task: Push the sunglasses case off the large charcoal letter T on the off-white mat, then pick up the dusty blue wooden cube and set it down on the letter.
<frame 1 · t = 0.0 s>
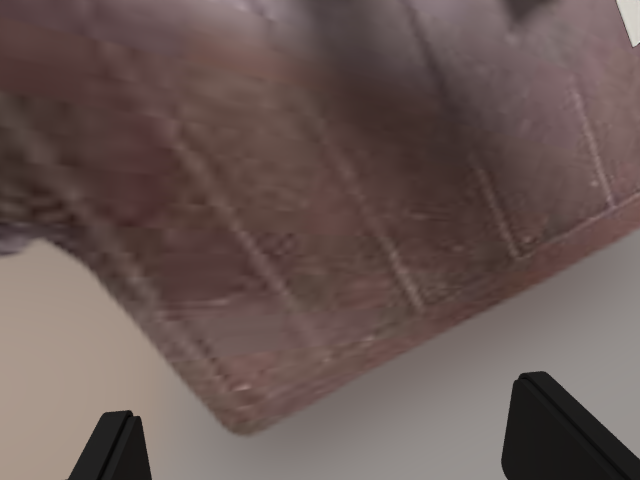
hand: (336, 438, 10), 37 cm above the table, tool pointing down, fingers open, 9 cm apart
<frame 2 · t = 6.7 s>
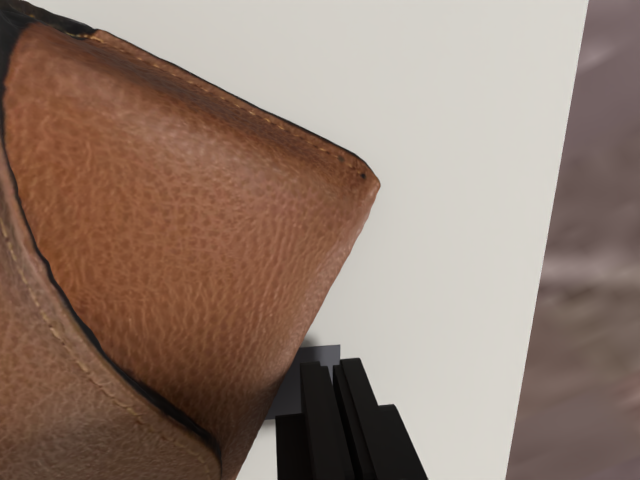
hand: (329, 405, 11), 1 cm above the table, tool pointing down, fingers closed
sunglasses case: (125, 393, 12), resting on letter mat, touching gripper
letter mat: (168, 391, 12), on the table
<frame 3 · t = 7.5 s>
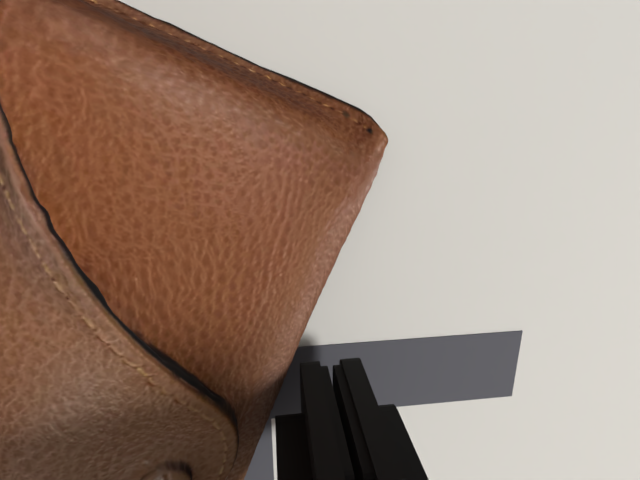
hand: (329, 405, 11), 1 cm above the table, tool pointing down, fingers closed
sunglasses case: (138, 370, 12), resting on letter mat, touching gripper
letter mat: (361, 374, 13), on the table
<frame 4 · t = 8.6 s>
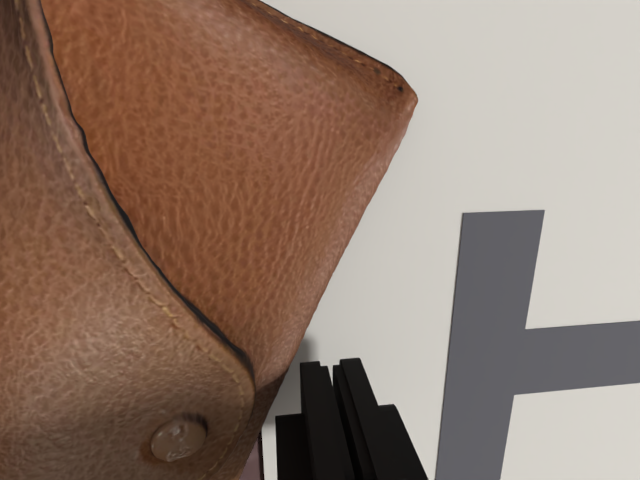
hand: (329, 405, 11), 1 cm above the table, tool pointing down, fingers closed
sunglasses case: (151, 330, 11), on the table, touching gripper, letter mat
letter mat: (596, 354, 14), on the table
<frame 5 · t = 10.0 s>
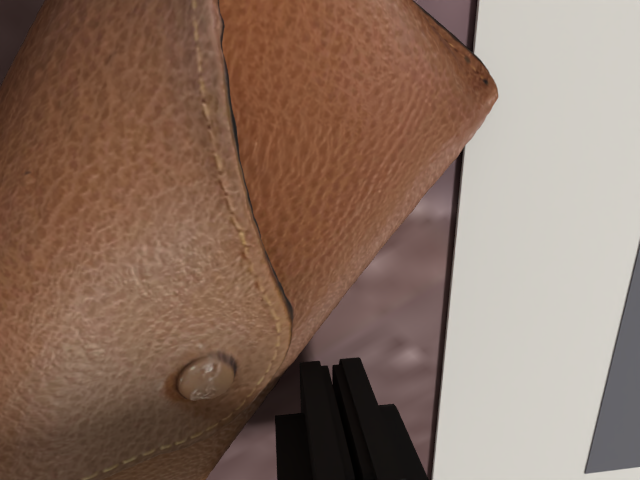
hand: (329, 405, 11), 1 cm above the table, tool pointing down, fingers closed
sunglasses case: (174, 272, 11), on the table, touching gripper, letter mat
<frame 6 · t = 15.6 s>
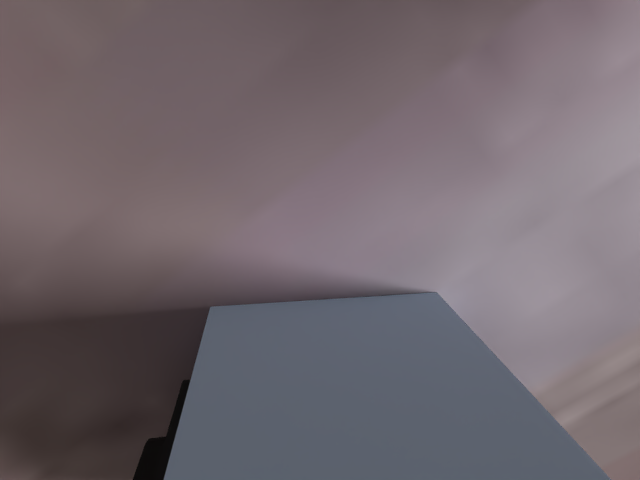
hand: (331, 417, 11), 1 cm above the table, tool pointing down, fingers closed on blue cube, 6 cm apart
blue cube: (327, 394, 12), on the table, touching gripper
when the fingers open (2 cm above the table, at t = 22.1 s): blue cube drops 1 cm, resting on letter mat.
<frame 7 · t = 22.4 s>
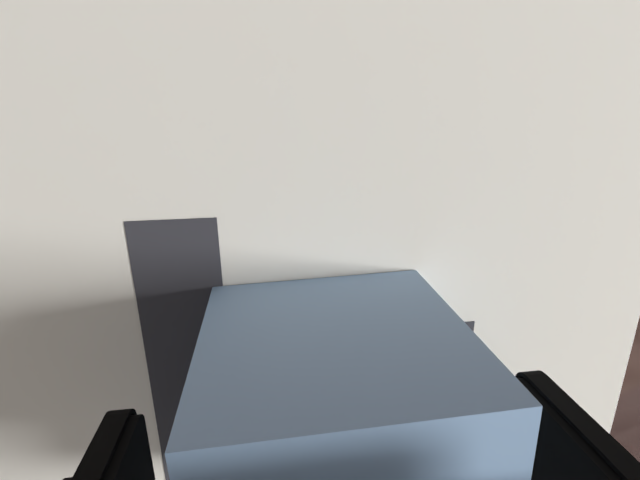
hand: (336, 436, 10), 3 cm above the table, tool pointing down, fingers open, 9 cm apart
letter mat: (320, 364, 13), on the table
blue cube: (320, 365, 13), resting on letter mat
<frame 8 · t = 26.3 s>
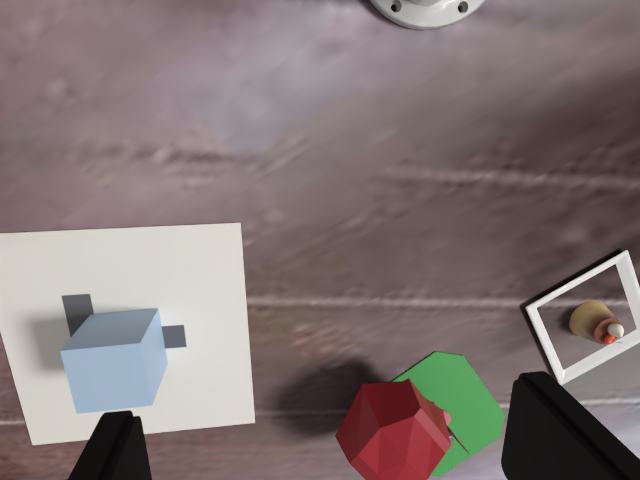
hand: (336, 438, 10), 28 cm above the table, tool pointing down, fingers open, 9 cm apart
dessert: (583, 315, 46), on the table
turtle: (418, 407, 46), on the table
letter mat: (131, 339, 39), on the table
blue cube: (130, 339, 39), resting on letter mat
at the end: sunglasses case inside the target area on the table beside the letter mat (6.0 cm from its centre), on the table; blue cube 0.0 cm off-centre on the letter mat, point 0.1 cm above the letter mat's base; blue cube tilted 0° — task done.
